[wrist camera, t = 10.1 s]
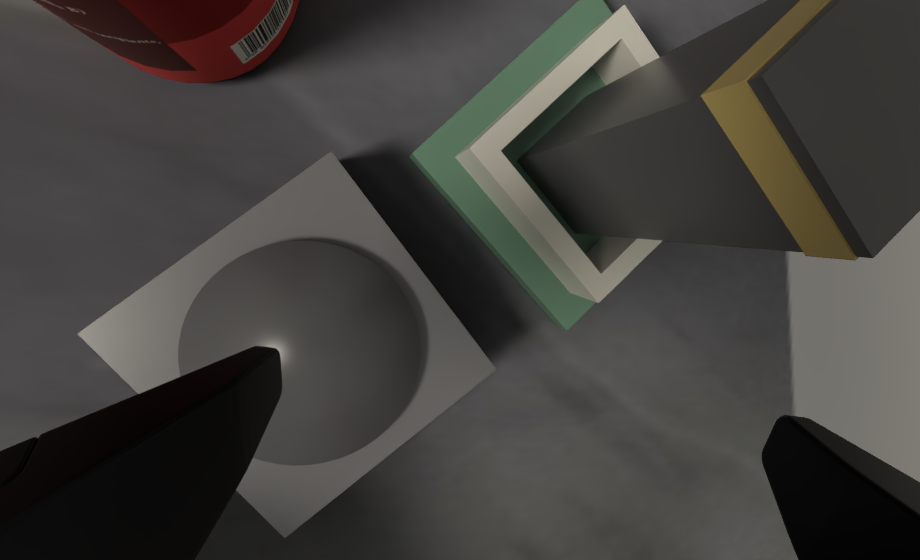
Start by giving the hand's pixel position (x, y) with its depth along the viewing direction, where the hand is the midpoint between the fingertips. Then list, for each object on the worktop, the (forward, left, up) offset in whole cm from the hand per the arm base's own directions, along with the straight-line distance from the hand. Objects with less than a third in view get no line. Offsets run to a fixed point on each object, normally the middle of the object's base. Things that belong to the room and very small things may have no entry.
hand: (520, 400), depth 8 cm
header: (+8, +1, -12) cm, 15 cm away
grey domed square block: (-5, +2, -12) cm, 13 cm away
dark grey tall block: (+8, +1, -11) cm, 14 cm away
